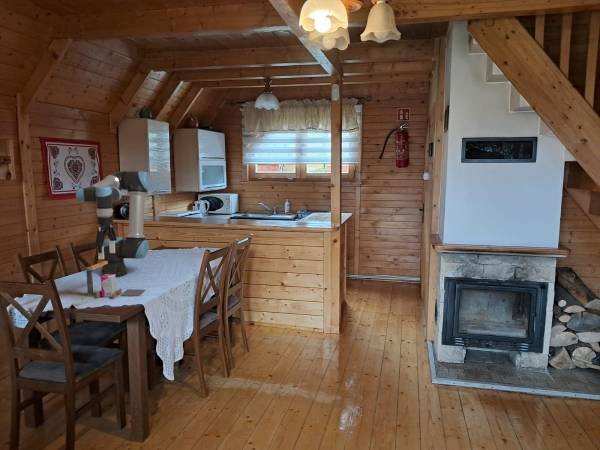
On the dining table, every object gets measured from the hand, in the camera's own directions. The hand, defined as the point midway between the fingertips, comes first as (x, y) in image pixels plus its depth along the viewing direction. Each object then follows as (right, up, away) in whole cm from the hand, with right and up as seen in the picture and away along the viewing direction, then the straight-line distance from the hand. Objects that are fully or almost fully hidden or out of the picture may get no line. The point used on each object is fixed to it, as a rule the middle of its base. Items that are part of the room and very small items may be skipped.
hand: (107, 255), depth 237 cm
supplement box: (-1, -22, +4) cm, 22 cm away
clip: (-9, -7, +8) cm, 14 cm away
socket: (-4, -22, +4) cm, 22 cm away
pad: (+10, -21, +9) cm, 25 cm away
